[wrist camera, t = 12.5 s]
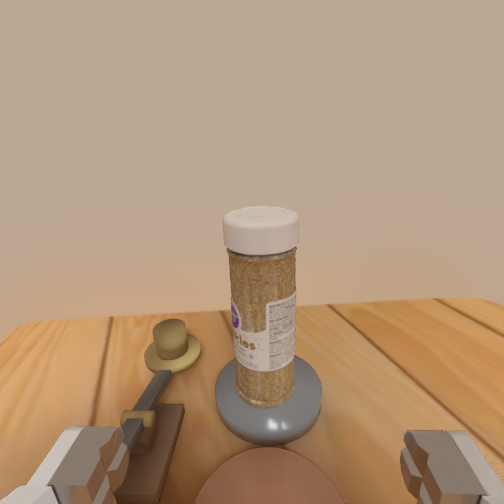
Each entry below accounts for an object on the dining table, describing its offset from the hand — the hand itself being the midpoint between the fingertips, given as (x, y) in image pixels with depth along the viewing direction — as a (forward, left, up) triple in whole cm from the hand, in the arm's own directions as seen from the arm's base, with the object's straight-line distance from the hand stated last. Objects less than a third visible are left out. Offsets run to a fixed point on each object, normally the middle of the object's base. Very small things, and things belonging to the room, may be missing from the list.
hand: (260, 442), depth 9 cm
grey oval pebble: (0, -12, -11) cm, 16 cm away
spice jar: (0, -12, -10) cm, 15 cm away
